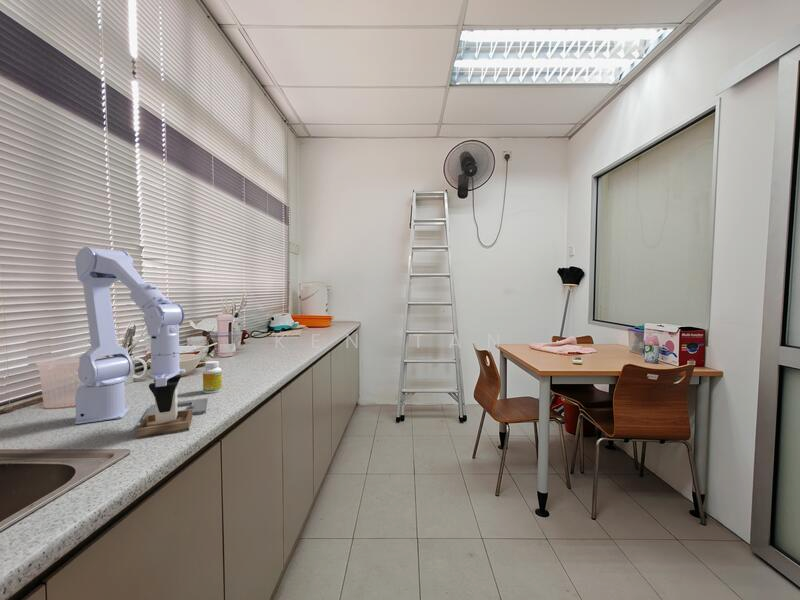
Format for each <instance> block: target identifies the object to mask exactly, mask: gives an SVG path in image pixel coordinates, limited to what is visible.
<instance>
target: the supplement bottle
mask: <svg viewBox="0 0 800 600" xmlns="http://www.w3.org/2000/svg"><path fill="white" fill-rule="evenodd" d="M204 366H205V367H204V368H203V370H202V392H203V393H204V394H214V393H218V392H221V391H222V389H223V388H222V387H223V386H222V385H223V384H222V383H223V381H222V380H223V379H222V368H221V367H219V366H220V361H218V360H208V361H205V362H204Z"/></svg>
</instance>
